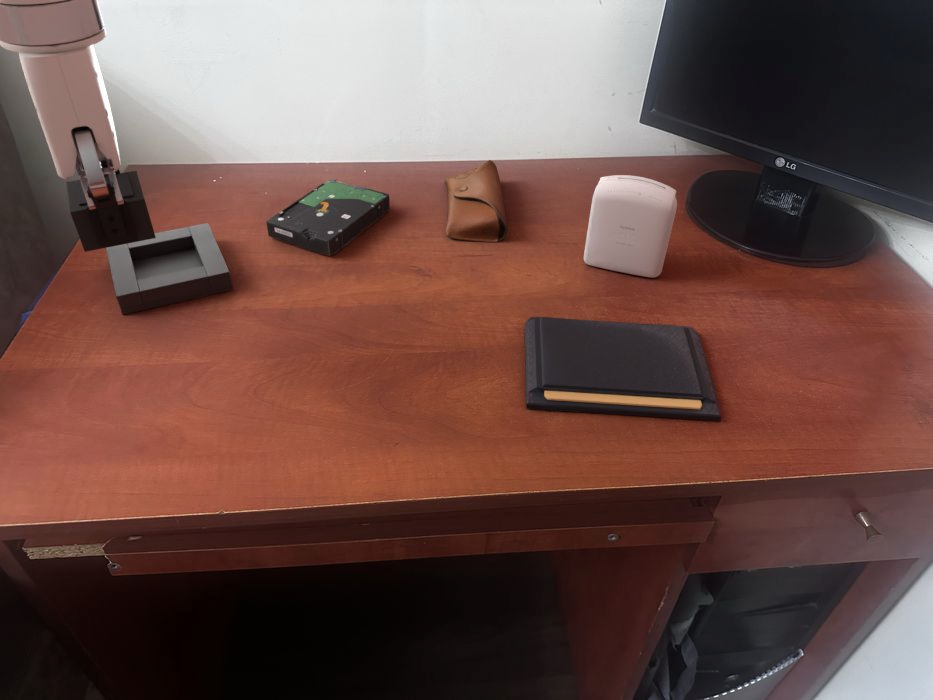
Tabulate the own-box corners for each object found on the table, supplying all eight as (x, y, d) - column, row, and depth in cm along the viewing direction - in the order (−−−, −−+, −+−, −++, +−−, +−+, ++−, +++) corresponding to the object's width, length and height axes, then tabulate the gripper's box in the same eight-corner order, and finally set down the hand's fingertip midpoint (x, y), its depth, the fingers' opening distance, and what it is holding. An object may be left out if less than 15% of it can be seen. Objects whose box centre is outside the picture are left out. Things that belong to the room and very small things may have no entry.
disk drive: (332, 260, 91) (391, 210, 101) (330, 241, 89) (390, 192, 100) (267, 239, 95) (331, 193, 105) (264, 221, 93) (329, 175, 103)
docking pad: (122, 315, 81) (116, 296, 79) (110, 260, 89) (104, 242, 88) (233, 289, 85) (229, 271, 84) (212, 240, 94) (208, 222, 92)
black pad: (84, 252, 63) (69, 210, 60) (80, 220, 67) (65, 179, 64) (155, 238, 65) (143, 196, 62) (147, 208, 69) (135, 168, 66)
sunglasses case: (441, 177, 109) (465, 142, 105) (479, 198, 112) (503, 165, 108) (444, 238, 95) (471, 200, 92) (488, 261, 98) (515, 225, 94)
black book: (701, 319, 81) (727, 413, 69) (696, 332, 82) (721, 426, 70) (526, 305, 82) (523, 395, 70) (525, 318, 83) (521, 409, 71)
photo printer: (579, 266, 92) (593, 178, 84) (586, 249, 95) (600, 164, 87) (658, 283, 90) (681, 194, 82) (663, 266, 93) (685, 179, 85)
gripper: (-7, -6, 58) (66, 191, 70) (-10, 59, 47) (77, 283, 58) (92, -14, 61) (146, 178, 73) (111, 47, 49) (172, 263, 61)
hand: (115, 223), depth 66 cm, fingers closed on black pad, 6 cm apart
